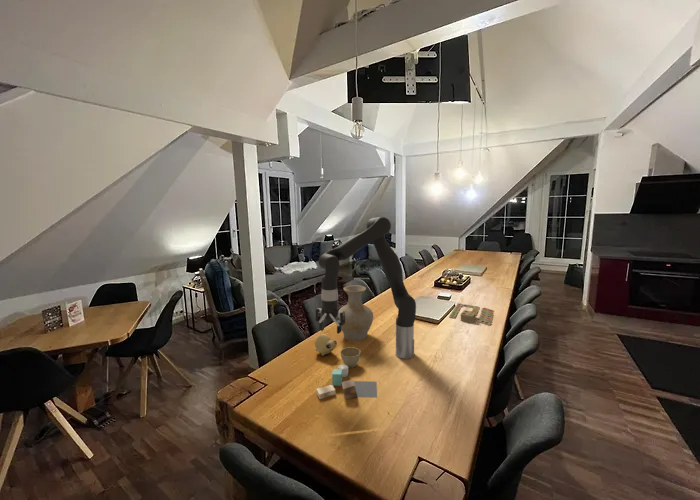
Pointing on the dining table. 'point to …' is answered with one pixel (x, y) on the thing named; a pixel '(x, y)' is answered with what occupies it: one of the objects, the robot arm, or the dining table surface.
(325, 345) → the toy pig
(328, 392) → the beech slab
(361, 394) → the felt mat
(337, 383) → the teal block
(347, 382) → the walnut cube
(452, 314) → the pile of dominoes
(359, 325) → the vase
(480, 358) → the dining table surface
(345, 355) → the flower pot
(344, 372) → the grey cylinder
